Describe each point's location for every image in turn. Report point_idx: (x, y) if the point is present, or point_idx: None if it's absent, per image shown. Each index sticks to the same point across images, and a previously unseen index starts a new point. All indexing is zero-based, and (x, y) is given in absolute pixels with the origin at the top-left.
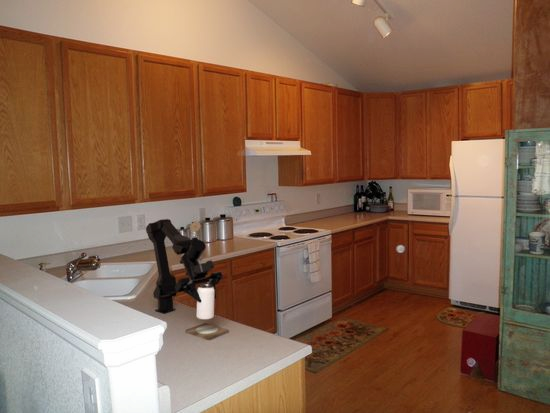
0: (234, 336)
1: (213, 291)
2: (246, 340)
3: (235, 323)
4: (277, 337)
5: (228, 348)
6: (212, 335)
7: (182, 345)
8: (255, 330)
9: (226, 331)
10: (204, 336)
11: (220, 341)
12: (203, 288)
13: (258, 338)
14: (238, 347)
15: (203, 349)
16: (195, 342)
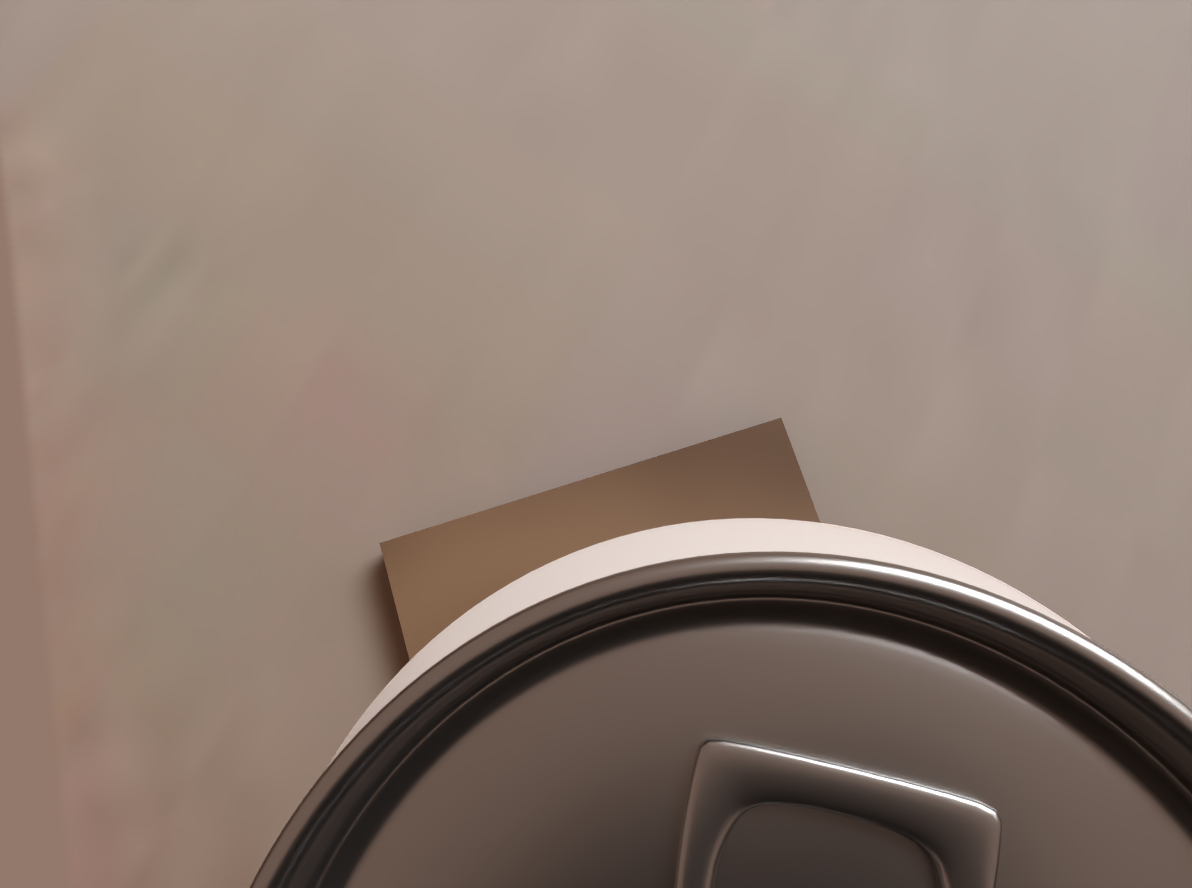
0: (410, 359)
1: (473, 609)
2: (361, 155)
3: (83, 849)
4: (3, 31)
5: (678, 66)
6: (701, 472)
7: (1180, 483)
8: (47, 386)
9: (431, 528)
10: (817, 518)
11: (658, 311)
12: (1172, 750)
13: (202, 128)
14: (562, 29)
15: (963, 203)
16: (976, 477)
